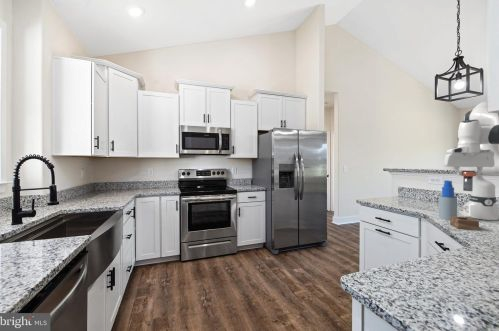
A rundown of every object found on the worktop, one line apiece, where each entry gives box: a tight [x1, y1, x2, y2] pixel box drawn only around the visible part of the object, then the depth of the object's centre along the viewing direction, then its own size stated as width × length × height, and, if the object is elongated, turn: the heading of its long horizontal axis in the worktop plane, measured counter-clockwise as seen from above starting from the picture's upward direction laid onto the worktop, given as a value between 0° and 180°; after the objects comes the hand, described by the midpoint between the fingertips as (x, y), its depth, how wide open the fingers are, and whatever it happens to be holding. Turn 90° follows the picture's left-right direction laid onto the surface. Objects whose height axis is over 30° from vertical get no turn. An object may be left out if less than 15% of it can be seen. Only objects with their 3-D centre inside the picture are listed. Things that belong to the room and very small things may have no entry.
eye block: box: [449, 216, 480, 231], centre depth 129 cm, size 9×9×5 cm
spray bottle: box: [438, 179, 458, 221], centre depth 147 cm, size 9×9×25 cm
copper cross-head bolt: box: [460, 170, 476, 192], centre depth 121 cm, size 6×6×11 cm
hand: (468, 175), depth 121 cm, fingers closed on copper cross-head bolt, 6 cm apart
